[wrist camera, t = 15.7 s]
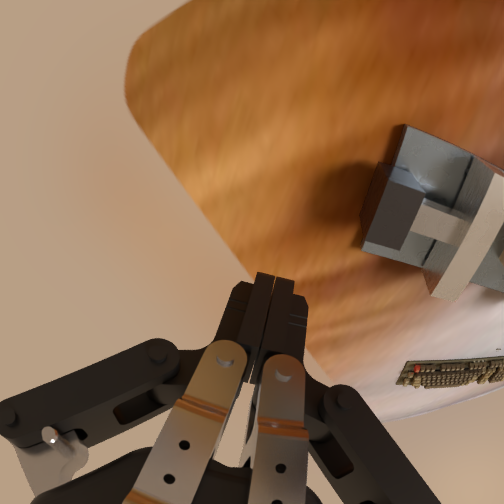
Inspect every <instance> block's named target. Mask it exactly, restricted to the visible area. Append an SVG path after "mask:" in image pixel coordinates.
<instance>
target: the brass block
mask: <svg viewBox="0 0 504 504" xmlns="http://www.w3.org/2000/svg"><path fill="white" fill-rule="evenodd" d="M499 260H500V262H501V263H502V265H503V266H504V250H503V252H502V254H501V255H500V257H499Z"/></svg>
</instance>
